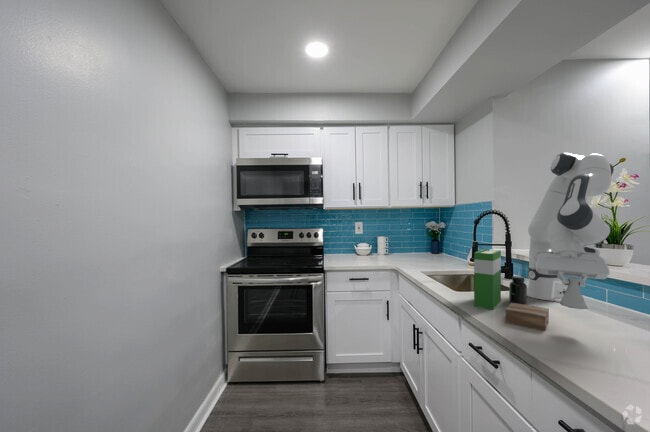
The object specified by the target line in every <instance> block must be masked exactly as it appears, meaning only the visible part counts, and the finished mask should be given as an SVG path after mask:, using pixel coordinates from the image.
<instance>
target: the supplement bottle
mask: <svg viewBox="0 0 650 432" xmlns="http://www.w3.org/2000/svg"><path fill="white" fill-rule="evenodd" d="M527 286H528V284H527V283H526V282H525V277H523V276H518V275H513V276H511V282H509V290H508V291H509V292H508V293H509V295H508V300H509V302H510V304H511V303H518V304H524V305H527V300H528V299H527V297H528V296H527Z"/></svg>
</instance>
